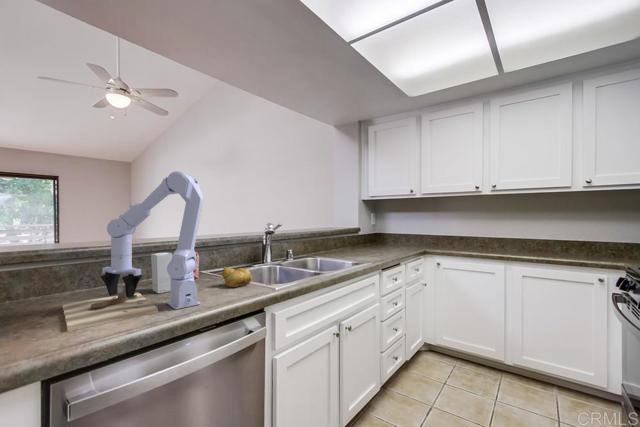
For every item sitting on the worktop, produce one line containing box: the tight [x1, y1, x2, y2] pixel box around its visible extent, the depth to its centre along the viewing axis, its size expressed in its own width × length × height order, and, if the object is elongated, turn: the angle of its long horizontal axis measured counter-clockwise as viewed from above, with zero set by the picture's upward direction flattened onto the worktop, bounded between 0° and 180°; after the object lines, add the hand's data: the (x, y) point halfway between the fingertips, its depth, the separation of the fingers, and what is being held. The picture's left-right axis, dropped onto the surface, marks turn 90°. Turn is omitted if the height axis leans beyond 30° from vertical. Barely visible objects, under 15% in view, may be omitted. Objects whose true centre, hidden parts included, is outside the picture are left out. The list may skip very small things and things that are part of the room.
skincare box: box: [150, 252, 173, 294], centre depth 114 cm, size 8×6×15 cm
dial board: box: [62, 291, 159, 332], centre depth 91 cm, size 26×21×1 cm
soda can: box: [193, 251, 200, 283], centre depth 130 cm, size 7×7×13 cm
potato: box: [221, 266, 253, 288], centre depth 124 cm, size 13×10×8 cm
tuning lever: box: [91, 283, 137, 309], centre depth 94 cm, size 14×3×5 cm, turn 159°
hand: (121, 295), depth 97 cm, fingers open, 7 cm apart
